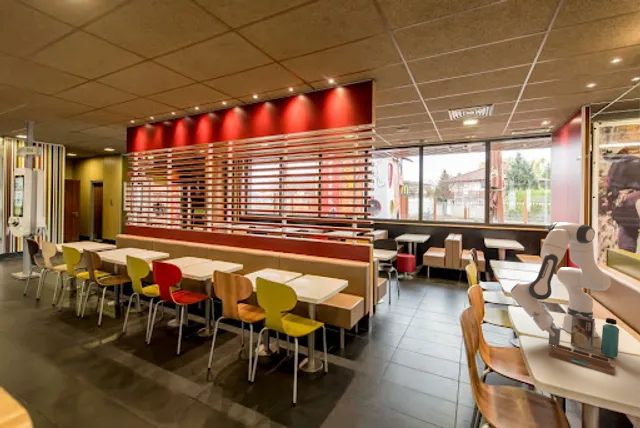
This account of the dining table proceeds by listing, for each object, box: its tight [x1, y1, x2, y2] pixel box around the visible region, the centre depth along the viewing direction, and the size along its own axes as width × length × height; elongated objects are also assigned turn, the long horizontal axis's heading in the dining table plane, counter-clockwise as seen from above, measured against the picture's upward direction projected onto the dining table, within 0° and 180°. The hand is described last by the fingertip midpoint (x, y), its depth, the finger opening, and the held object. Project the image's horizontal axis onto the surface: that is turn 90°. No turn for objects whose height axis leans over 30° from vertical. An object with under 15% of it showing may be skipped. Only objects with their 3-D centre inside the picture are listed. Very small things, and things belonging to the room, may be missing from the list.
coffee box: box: [570, 314, 596, 351], centre depth 170 cm, size 9×6×16 cm
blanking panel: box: [548, 326, 561, 347], centre depth 170 cm, size 3×4×10 cm, turn 46°
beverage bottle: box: [600, 317, 620, 358], centre depth 158 cm, size 6×7×20 cm
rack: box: [548, 344, 615, 376], centre depth 153 cm, size 13×24×4 cm, turn 46°
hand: (555, 333), depth 169 cm, fingers open, 8 cm apart
